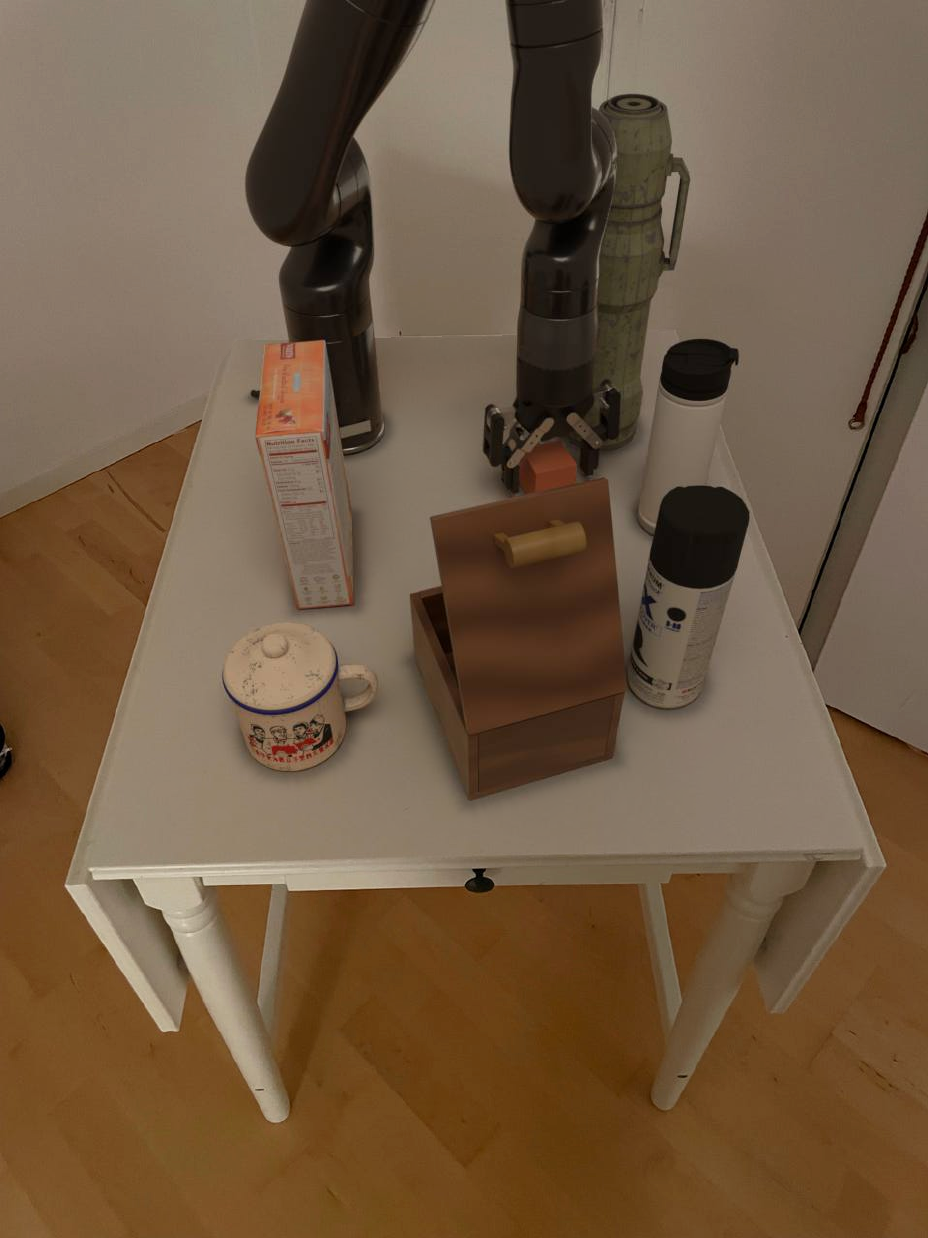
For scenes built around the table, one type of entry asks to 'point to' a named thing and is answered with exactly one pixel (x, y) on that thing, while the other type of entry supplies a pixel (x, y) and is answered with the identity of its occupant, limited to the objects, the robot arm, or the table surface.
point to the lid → (532, 603)
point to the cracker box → (306, 472)
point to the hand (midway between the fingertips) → (549, 480)
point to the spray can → (685, 592)
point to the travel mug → (685, 421)
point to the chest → (516, 746)
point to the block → (547, 468)
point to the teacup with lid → (291, 694)
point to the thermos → (633, 251)
